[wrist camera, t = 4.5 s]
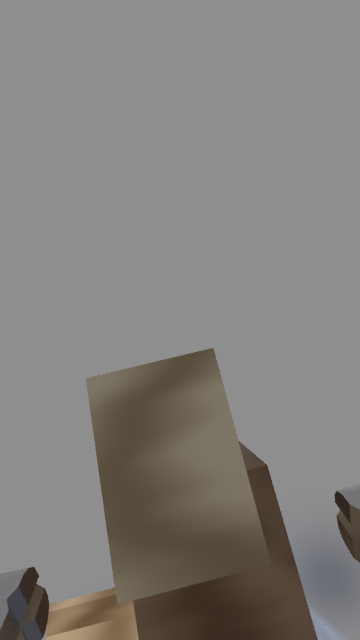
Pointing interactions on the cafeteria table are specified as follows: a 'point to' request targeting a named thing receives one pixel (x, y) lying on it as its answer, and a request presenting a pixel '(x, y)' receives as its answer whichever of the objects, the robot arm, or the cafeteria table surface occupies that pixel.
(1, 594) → the robot arm
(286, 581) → the walnut block
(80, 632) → the oak stand
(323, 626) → the cafeteria table surface
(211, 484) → the maple batten
